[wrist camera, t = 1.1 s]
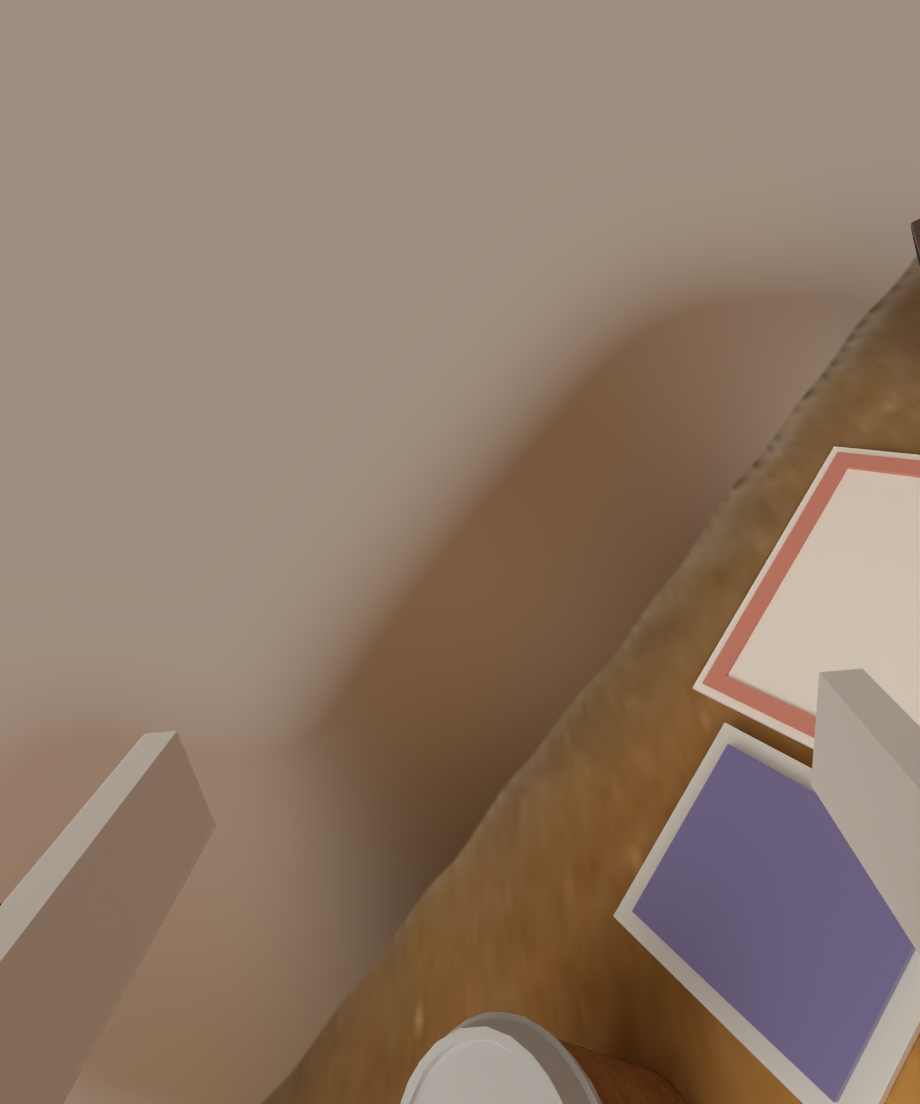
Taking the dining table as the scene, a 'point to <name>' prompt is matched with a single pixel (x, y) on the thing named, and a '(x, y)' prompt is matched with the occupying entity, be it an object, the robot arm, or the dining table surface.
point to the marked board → (830, 598)
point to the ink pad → (779, 927)
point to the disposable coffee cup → (526, 1069)
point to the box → (916, 236)
